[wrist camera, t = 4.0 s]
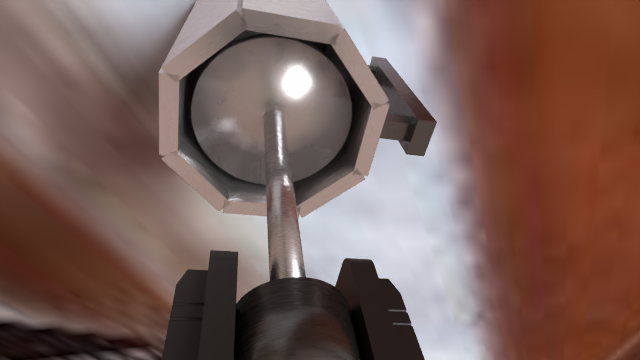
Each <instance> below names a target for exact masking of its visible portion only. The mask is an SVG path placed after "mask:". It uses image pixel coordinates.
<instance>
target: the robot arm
mask: <svg viewBox="0 0 640 360" xmlns="http://www.w3.org/2000/svg"><path fill="white" fill-rule="evenodd" d="M237 267H238V252H230V251H212V250H211V252H210V260H209V268H208V270H187V271H186V273H185V274H184V275H183V277H182V278H181V279H180V281H179V282H178V283H177V284H176V289H175V295H174V300H173V306H172V310H171V315H170V321H169V325H168V330H167V335H166V340H165V346H164V351H163V356H162V360H234V338H235V315H236V291H237ZM335 287H336V288H337V289H338V290H340V291H341V292H342V293H343V295H344V296H345V297H346V299H347V301H348V304H349V307H350V311H351V316H352V320H353V324H354V329H355V333H356V337H357V342H358V346H359V350H360V355H361V359H362V360H425V359H424V356H423V354H422V351H421V348H420V345H419V343H418V340H417V337H416V335H415V332H414V329H413V326H411V321H410V318H409V315H408V313H406V307H405V305H404V302H403V299H402V296H401V294H400V292H399V291H398V290H397V289H396V287H395V286H394V285H393V284H392V283H391V281H390V280H389V279H379V278H378V275H377V272H376V269H375V266H374V263H373V261H372V260H369V259H351V258H345V259H344V261H343V263H342V267H341V270H340V273H339V276H338V280H337V283H336V286H335Z"/></svg>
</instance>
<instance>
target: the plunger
mask: <svg viewBox="0 0 640 360" xmlns="http://www.w3.org/2000/svg"><path fill="white" fill-rule="evenodd" d="M191 119H192V124H193V129H194V132H195V135H196V138H197V140H198V142H199V144H200V146H201V147H202V149H203V150H204V152H205V153H206V154H207V156H208V157H209V158H210V159H211V160H212V161H213V162H214V163H215V164H216V165H217V166H219V167H220V168H221V169H223V170H224V171H226V172H227V173H229V174H231V175H233V176H235V177H237V178H240V179H242V180H245V181H248V182H252V183H258V184H266V200H267V224H268V248H269V273H270V282H267V283H264V284H262V285H260V286H258V287H256V288H254V289H252V290H251V291H249V292H248V293H247V294H245V295H244V296H243V297H242V298H241V299H240V300H239V301H238V303H237V304H236V315H235V338H234V360H362V359H361V355H360V350H359V346H358V342H357V337H356V333H355V329H354V324H353V320H352V316H351V311H350V307H349V304H348V301H347V299H346V297H345V296H344V295H343V293H342V292H341V291H340V290H338V289H337V288H336V287H334V286H333V285H331V284H329V283H326V282H324V281H321V280H318V279H313V278H306V276H305V268H304V261H303V254H302V246H301V239H300V231H299V224H298V217H297V209H296V202H295V194H294V187H293V182H295V181H298V180H301V179H304V178H306V177H309V176H311V175H312V174H314V173H316V172H318V171H319V170H321V169H322V168H323V167H325V166H326V165H327V164H328V163H329V162H330V161H331V160H332V159H333V158H334V157H335V156H336V155H337V153H338V152H339V151H340V149H341V148H342V146H343V144H344V142H345V140H346V138H347V136H348V133H349V130H350V125H351V120H352V104H351V98H350V94H349V90H348V88H347V85H346V83H345V80H344V78H343V76H342V74H341V73H340V71H339V69H338V67H337V66H336V65H335V64H334V62H333V61H332V60H331V59H330V58H329V57H328V56H327V55H326V54H325V53H324V52H323V51H322V50H320V49H319V48H318V47H316V46H315V45H313V44H311V43H309V42H307V41H305V40H303V39H297V38H291V37H285V36H279V35H273V34H267V33H262V34H256V35H250V36H247V37H244V38H241V39H239V40H236V41H234V42H232V43H230V44H229V45H227V46H226V47H224V48H222V49H221V50H220V51H219V52H218V53H216V54H215V55H214V56H213V57H212V58H211V60H210V61H209V62H208V63H207V64H206V66H205V67H204V69H203V71H202V72H201V74H200V76H199V79H198V81H197V84H196V87H195V90H194V94H193V98H192V105H191Z"/></svg>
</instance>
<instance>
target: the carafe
mask: <svg viewBox="0 0 640 360" xmlns="http://www.w3.org/2000/svg"><path fill="white" fill-rule="evenodd" d="M262 33H267V34H273V35H279V36H285V37H291V38H297V39H303V40H305V41H307V42H309V43H311V44H313V45H315V46H316V47H318V48H319V49H320V50H322V51H323V52H324V53H325V54H326V55H327V56H328V57H329V58H330V59H331V60H332V61H333V62H334V64H335V65H336V66H337V67H338V69H339V71H340V73H341V74H342V76H343V78H344V80H345V83H346V85H347V88H348V90H349V94H350V98H351V104H352V120H351V125H350V130H349V133H348V136H347V138H346V140H345V142H344V144H343V146H342V148H341V149H340V151H339V152H338V153H337V155H336V156H335V157H334V158H333V159H332V160H331V161H330V162H329V163H328V164H327V165H326V166H325V167H323V168H322V169H321V170H319V171H318V172H316V173H314V174H312V175H311V176H309V177H306V178H304V179H301V180H298V181H295V182H293V187H294V194H295V202H296V209H297V217H299V215H300V216H301V217H302V218H303V217H304V216H306V215H307V214H309V213H311V212H312V211H314V210H316V209H317V208H319V207H321V206H322V205H324V204H325V203H327V202H329V201H330V200H332V199H334V198H335V197H337V196H339V195H340V194H342V193H343V192H345V191H347V190H348V189H350V188H352V187H353V186H355V185H357V184H358V183H360V182H361V181H363V180H365V177H364V176H368V174H369V171H370V167H371V164H372V161H373V158H374V154H375V151H376V148H377V144H378V141H379V138H384V139H392V140H398V141H399V143H400V144H401V146H402V148H403V149H404V151H405V153H406V154H409V155H418V156H424V155H425V152H426V149H427V147H428V144H429V141H430V139H431V136H432V134H433V131H434V128H435V126H436V123H437V122H436V121H435V119H434V118H433V117H432V116H431V114H430V113H429V112H428V111H427V109H426V108H425V107H424V106H423V104H422V103H421V102H420V101H419V99H418V98H417V97H416V96H415V94H414V93H413V92H412V91H411V89H410V88H409V87H408V86H407V84H406V83H405V82H404V81H403V79H402V78H401V77H400V76H399V74H398V73H397V72H396V71H395V69H394V68H393V67H392V66H391V64H390V63H389V62H388V61H387V59H385V58H379V57H373V56H372V60H371V64H370V65H367V64H366V62H365V61H364V59H363V57H362V56H361V54H360V53H359V51H358V49H357V48H356V46H355V44H354V43H353V41H352V40H351V38H350V36H349V35H348V33H347V32H346V30H345V28H344V27H343V25H342V24H341V22H340V21H339V19H338V18H337V16H336V15H335V13H334V12H333V11H332V9H331V8H330V6H329V5H328V3H327V2H326V0H197V1H196V3H195V5H194V7H193V9H192V11H191V12H190V14H189V16H188V18H187V20H186V22H185V24H184V26H183V27H182V29H181V31H180V33H179V35H178V37H177V39H176V41H175V42H174V44H173V46H172V48H171V50H170V52H169V54H168V56H167V58H166V59H165V61H164V63H163V65H162V67H161V69H160V71H159V155H162V158H161V159H162V160H163V161H164V162H165V163H166V164H167V165H168V166H169V167H170V168H172V169H173V170H174V171H175V172H176V173H177V174H178V175H179V176H180V177H181V178H183V179H184V180H185V181H186V182H187V183H188V184H189V185H190V186H191V187H192V188H194V189H195V190H196V191H197V192H198V193H199V194H200V195H201V196H202V197H203V198H205V199H206V200H207V201H208V202H209V203H210V204H211V205H212V206H213V207H214V208H216V209H217V210H218V211H220V210H221V209H223V213H230V214H244V215H257V216H267V200H266V184H258V183H252V182H248V181H245V180H242V179H240V178H237V177H235V176H233V175H231V174H229V173H227V172H226V171H224V170H223V169H221V168H220V167H219V166H217V165H216V164H215V163H214V162H213V161H212V160H211V159H210V158H209V157H208V156H207V154H206V153H205V152H204V150H203V149H202V147H201V146H200V144H199V142H198V140H197V138H196V135H195V132H194V129H193V124H192V119H191V105H192V98H193V94H194V90H195V87H196V84H197V81H198V79H199V76H200V74H201V72H202V71H203V69H204V67H205V66H206V64H207V63H208V62H209V61H210V60H211V58H212V57H213V56H214V55H215V54H216V53H218V52H219V51H220V50H221V49H222V48H224V47H226V46H227V45H229V44H230V43H232V42H234V41H236V40H239V39H241V38H244V37H247V36H250V35H256V34H262Z"/></svg>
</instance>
